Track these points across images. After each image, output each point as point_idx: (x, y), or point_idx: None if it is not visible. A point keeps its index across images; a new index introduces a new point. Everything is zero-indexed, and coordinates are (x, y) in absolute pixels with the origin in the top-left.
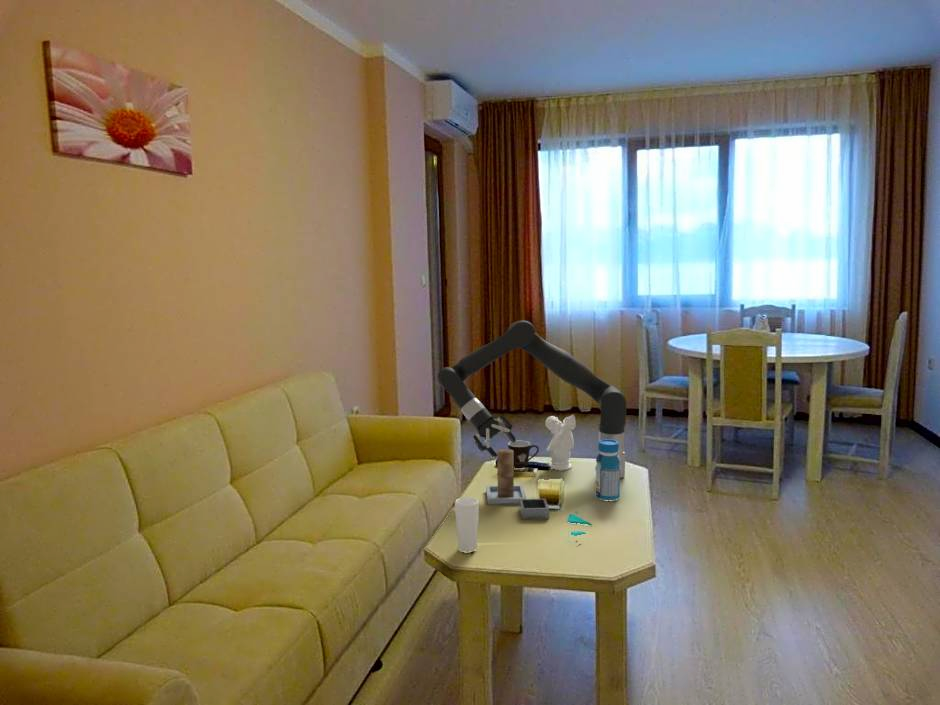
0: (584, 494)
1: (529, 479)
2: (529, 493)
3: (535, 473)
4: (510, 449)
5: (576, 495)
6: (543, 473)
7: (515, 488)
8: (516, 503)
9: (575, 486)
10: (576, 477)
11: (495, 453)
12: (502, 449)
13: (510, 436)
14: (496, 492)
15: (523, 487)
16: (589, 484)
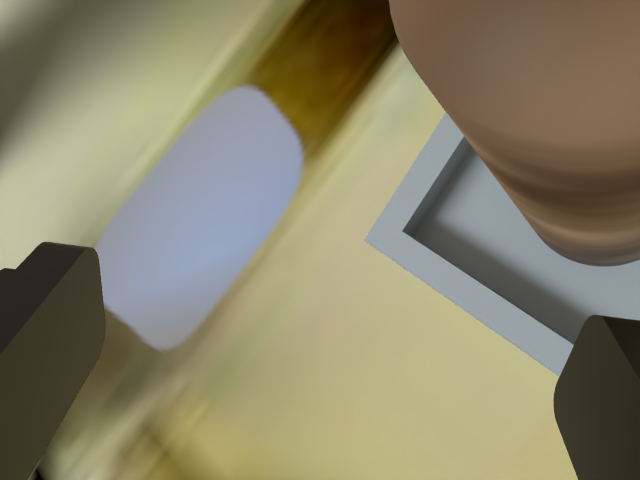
0: (155, 12)
1: (202, 406)
2: (371, 190)
3: (111, 462)
4: (393, 12)
5: (191, 17)
6: (84, 423)
7: (437, 253)
8: None
9: (110, 135)
10: (27, 243)
11: (632, 342)
12: (553, 107)
13: (10, 330)
14: (622, 315)
15: (398, 187)
16: (54, 121)
